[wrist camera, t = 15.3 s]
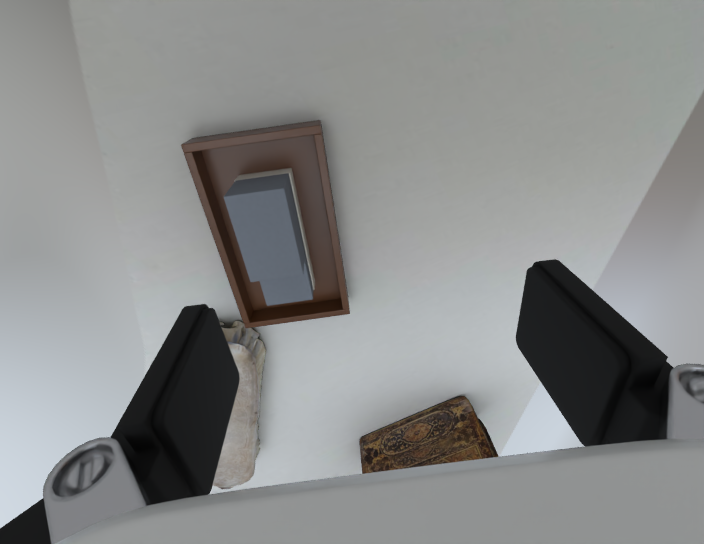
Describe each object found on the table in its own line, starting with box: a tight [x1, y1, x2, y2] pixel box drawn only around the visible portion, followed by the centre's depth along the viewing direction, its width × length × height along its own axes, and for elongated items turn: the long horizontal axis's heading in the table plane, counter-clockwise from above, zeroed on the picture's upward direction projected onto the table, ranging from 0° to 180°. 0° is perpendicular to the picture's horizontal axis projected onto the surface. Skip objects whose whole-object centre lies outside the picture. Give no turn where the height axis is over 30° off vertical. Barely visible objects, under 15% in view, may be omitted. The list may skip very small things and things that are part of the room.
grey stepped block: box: [224, 168, 315, 306], centre depth 30 cm, size 11×4×6 cm, turn 7°
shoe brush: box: [213, 321, 266, 489], centre depth 41 cm, size 24×8×5 cm, turn 172°
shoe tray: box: [181, 120, 350, 328], centre depth 31 cm, size 17×10×3 cm, turn 7°
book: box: [360, 396, 498, 474], centre depth 37 cm, size 16×6×25 cm, turn 120°
